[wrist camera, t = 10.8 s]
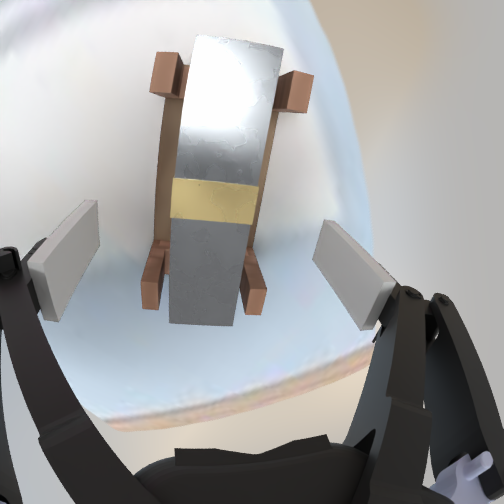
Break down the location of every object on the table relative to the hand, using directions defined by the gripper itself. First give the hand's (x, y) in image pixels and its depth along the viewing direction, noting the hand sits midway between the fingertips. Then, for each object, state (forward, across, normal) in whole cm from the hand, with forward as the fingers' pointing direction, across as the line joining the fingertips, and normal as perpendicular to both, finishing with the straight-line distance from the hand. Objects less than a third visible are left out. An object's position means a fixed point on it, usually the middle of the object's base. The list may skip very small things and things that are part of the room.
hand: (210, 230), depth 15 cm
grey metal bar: (+11, +1, 0) cm, 11 cm away
